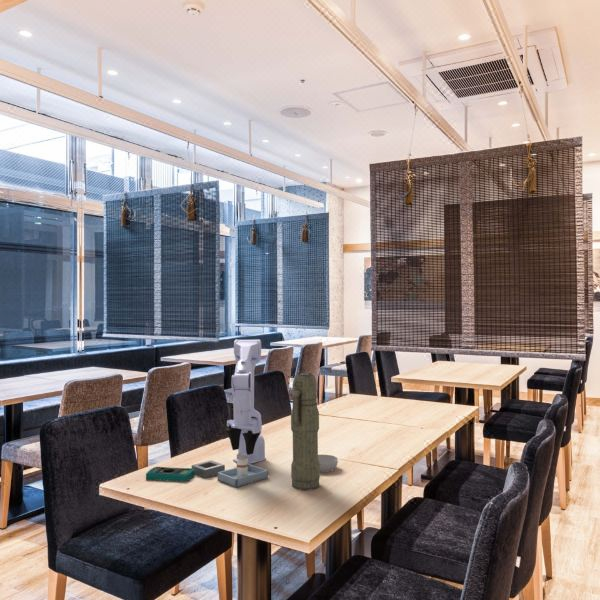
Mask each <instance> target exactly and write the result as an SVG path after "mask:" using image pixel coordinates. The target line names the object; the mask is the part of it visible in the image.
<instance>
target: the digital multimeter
mask: <svg viewBox="0 0 600 600" xmlns="http://www.w3.org/2000/svg"><path fill="white" fill-rule="evenodd" d="M194 476H195V474H194V469H192V467H191V468H190V467H189V468H187V467H184V468H183V467H166V466H154V467H153V468H151V469H149V470H148V471H147V472H146V473H145V479H146V480H152V481H166V480H169V481H168V482H181V481H186V482H188V481H190V479H192V478H193V477H194Z"/></svg>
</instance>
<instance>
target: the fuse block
mask: <svg viewBox="0 0 600 600" xmlns="http://www.w3.org/2000/svg"><path fill="white" fill-rule="evenodd" d="M191 468H192V469H194V475H197V476H200V477H202V478H205V479H206V478H209V477H213V476H218V475H217V473H218V472H221V471H225V470H226V467H225V464H222V463H220V462H216V461H214V460H212V459H211V460H208V461H204V462H200V463H195V464H192V465H191Z"/></svg>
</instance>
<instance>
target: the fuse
mask: <svg viewBox="0 0 600 600" xmlns="http://www.w3.org/2000/svg"><path fill="white" fill-rule="evenodd" d="M236 458H237V462H236V467H237V479H238V478H241V477H245V476H248V455H247V454H246V453H239V454H238V453H237V454H236Z"/></svg>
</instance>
